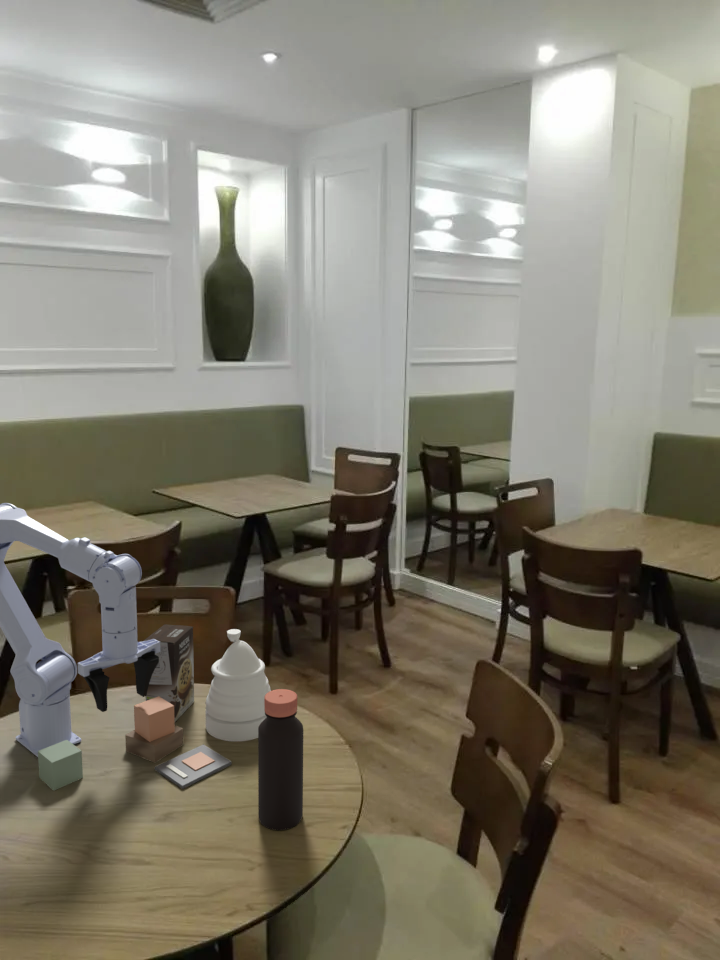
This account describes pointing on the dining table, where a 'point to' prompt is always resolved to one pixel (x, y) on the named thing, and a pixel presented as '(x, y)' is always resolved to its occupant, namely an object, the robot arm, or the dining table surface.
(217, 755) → the card
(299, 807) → the bottle
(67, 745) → the sage block
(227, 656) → the honey pot
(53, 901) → the dining table surface
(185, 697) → the coffee box
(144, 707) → the terracotta block
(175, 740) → the walnut base
